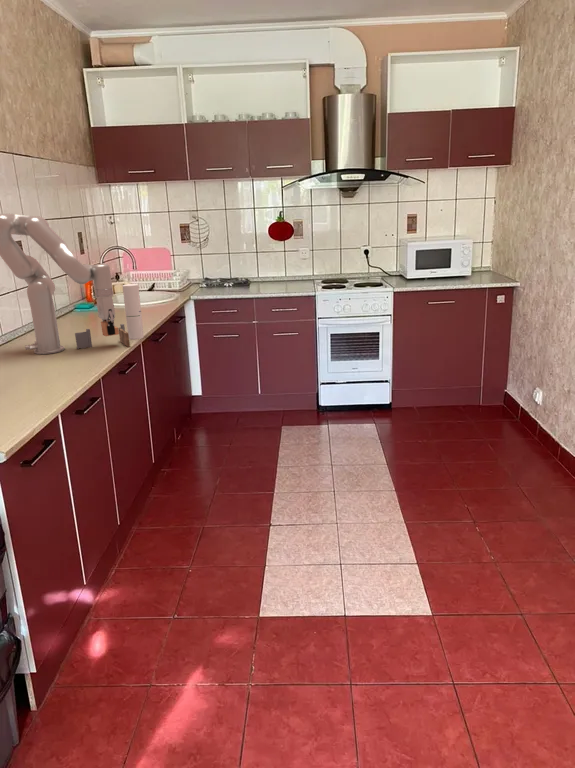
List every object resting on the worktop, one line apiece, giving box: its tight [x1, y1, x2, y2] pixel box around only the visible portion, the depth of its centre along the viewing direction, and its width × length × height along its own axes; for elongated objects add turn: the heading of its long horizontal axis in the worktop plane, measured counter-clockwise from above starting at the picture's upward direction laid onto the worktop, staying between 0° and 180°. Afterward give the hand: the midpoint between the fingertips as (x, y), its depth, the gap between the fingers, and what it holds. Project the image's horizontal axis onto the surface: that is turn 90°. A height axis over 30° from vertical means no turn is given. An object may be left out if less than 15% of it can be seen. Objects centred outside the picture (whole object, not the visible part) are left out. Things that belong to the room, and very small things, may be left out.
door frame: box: [74, 323, 126, 350], centre depth 266 cm, size 22×2×8 cm, turn 124°
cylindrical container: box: [121, 283, 145, 340], centre depth 276 cm, size 7×7×25 cm
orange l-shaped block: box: [100, 320, 119, 337], centre depth 262 cm, size 6×4×6 cm
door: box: [118, 327, 131, 348], centre depth 266 cm, size 14×1×6 cm, turn 29°
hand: (109, 333), depth 262 cm, fingers closed on orange l-shaped block, 4 cm apart
